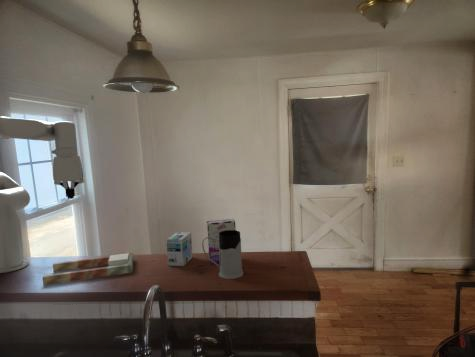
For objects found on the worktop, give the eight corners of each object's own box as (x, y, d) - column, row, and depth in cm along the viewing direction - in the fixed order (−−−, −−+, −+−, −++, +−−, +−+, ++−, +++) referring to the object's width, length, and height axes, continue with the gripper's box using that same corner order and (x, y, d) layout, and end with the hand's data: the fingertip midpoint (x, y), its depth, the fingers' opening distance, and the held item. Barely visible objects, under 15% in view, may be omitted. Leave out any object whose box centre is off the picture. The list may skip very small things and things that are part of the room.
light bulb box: (183, 266, 117) (182, 239, 116) (167, 266, 118) (165, 239, 117) (193, 257, 127) (191, 232, 126) (178, 256, 129) (176, 231, 128)
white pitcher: (243, 278, 104) (242, 235, 103) (202, 280, 104) (200, 237, 103) (242, 268, 113) (241, 229, 112) (204, 270, 113) (203, 230, 112)
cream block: (108, 271, 115) (108, 261, 115) (110, 265, 122) (110, 255, 122) (128, 268, 117) (127, 258, 117) (129, 262, 124) (128, 253, 124)
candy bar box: (235, 257, 125) (233, 218, 124) (237, 261, 121) (235, 220, 119) (208, 260, 123) (206, 220, 122) (209, 264, 118) (207, 223, 117)
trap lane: (43, 285, 104) (42, 277, 104) (54, 270, 118) (53, 263, 117) (132, 272, 113) (131, 264, 113) (133, 260, 126) (132, 253, 126)
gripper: (42, 153, 115) (47, 201, 117) (85, 152, 120) (89, 198, 121) (48, 153, 122) (52, 198, 124) (89, 152, 127) (92, 195, 128)
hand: (70, 198), depth 123 cm, fingers closed
